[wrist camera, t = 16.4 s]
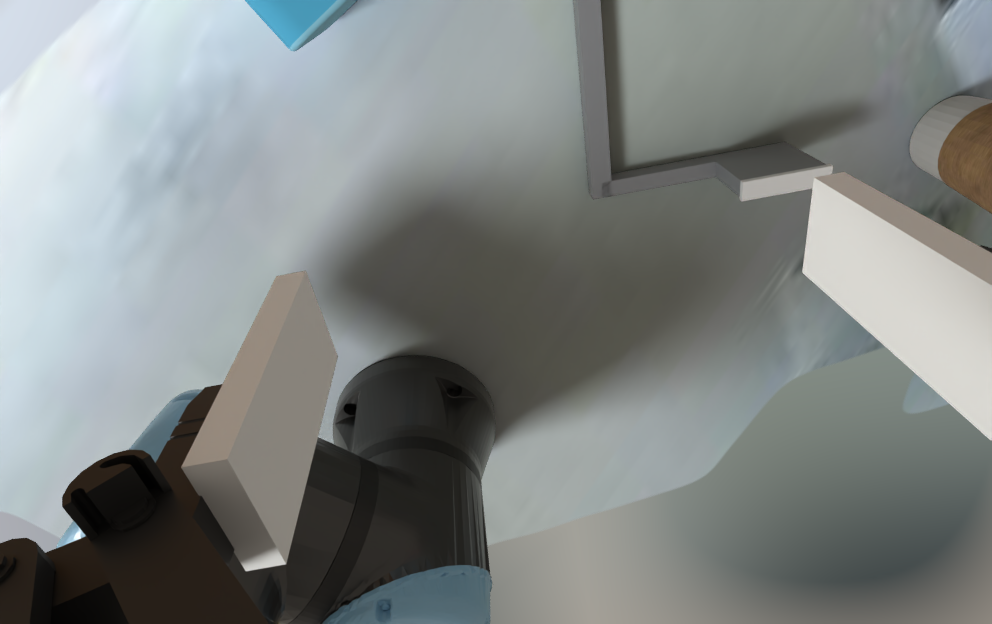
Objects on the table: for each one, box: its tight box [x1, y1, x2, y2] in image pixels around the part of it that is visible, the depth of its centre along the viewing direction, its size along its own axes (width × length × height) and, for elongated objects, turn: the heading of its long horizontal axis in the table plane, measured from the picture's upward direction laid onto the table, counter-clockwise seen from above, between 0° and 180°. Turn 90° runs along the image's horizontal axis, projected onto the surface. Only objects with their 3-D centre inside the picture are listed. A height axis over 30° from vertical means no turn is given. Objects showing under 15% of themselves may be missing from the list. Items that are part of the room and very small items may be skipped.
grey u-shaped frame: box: [573, 0, 833, 201], centre depth 40 cm, size 16×16×6 cm
